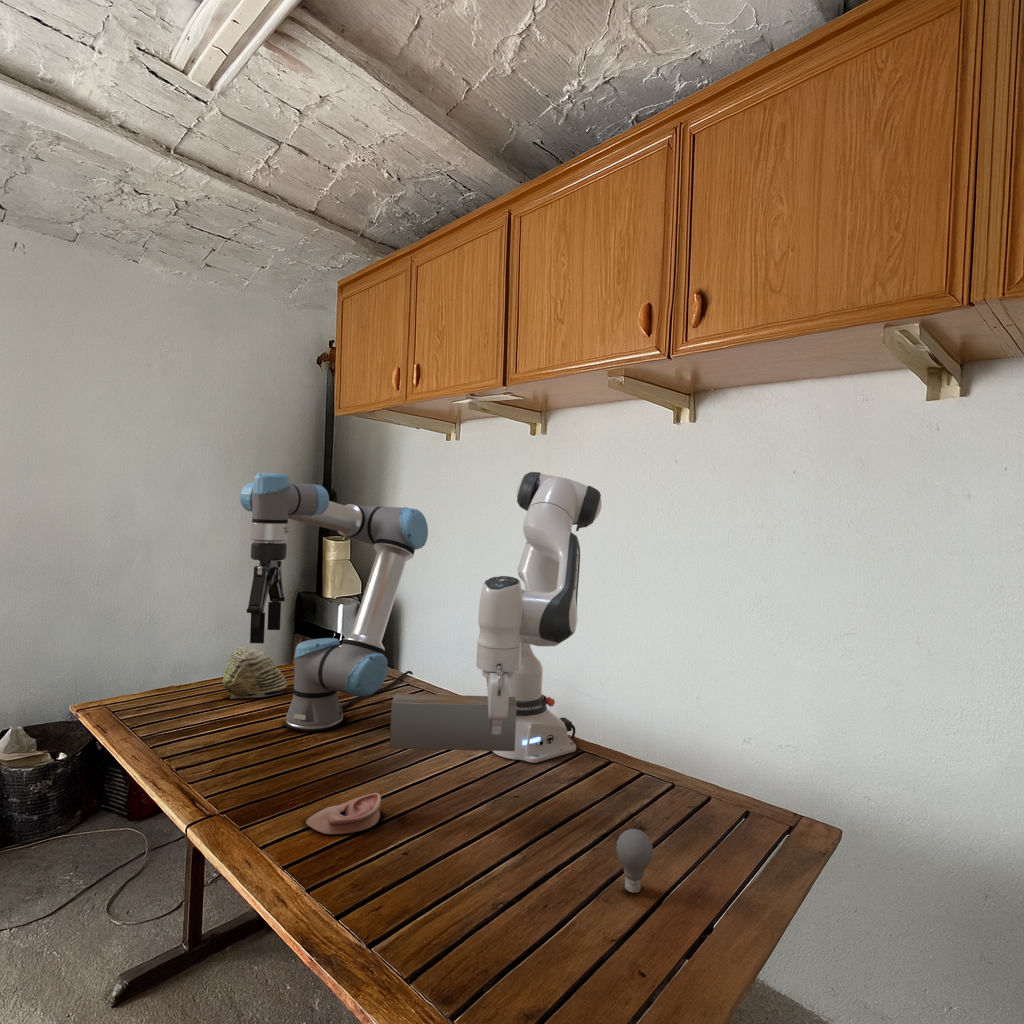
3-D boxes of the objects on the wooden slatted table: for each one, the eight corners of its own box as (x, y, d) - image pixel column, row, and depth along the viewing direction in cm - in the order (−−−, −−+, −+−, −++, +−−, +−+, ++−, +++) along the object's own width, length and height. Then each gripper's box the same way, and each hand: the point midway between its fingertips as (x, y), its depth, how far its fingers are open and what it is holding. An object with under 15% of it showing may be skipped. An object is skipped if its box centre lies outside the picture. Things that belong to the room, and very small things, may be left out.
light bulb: (610, 879, 108) (613, 822, 108) (644, 879, 109) (647, 822, 109) (619, 902, 102) (622, 840, 102) (655, 901, 103) (658, 840, 103)
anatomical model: (298, 809, 120) (327, 783, 131) (297, 830, 120) (327, 802, 131) (363, 819, 117) (388, 791, 128) (362, 840, 117) (387, 811, 128)
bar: (389, 748, 123) (391, 702, 123) (393, 737, 129) (395, 693, 129) (514, 751, 125) (516, 705, 124) (513, 740, 130) (515, 696, 130)
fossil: (218, 695, 195) (220, 647, 195) (278, 685, 208) (279, 640, 207) (228, 703, 189) (230, 653, 188) (289, 692, 201) (290, 645, 201)
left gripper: (271, 546, 130) (267, 649, 130) (298, 538, 155) (295, 625, 155) (233, 545, 129) (229, 648, 130) (267, 537, 154) (264, 624, 154)
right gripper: (517, 673, 117) (514, 747, 117) (511, 647, 137) (509, 710, 137) (483, 672, 116) (479, 746, 117) (482, 646, 137) (480, 709, 137)
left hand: (265, 636), depth 142 cm, fingers open, 13 cm apart
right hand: (495, 726), depth 127 cm, fingers closed on bar, 6 cm apart
